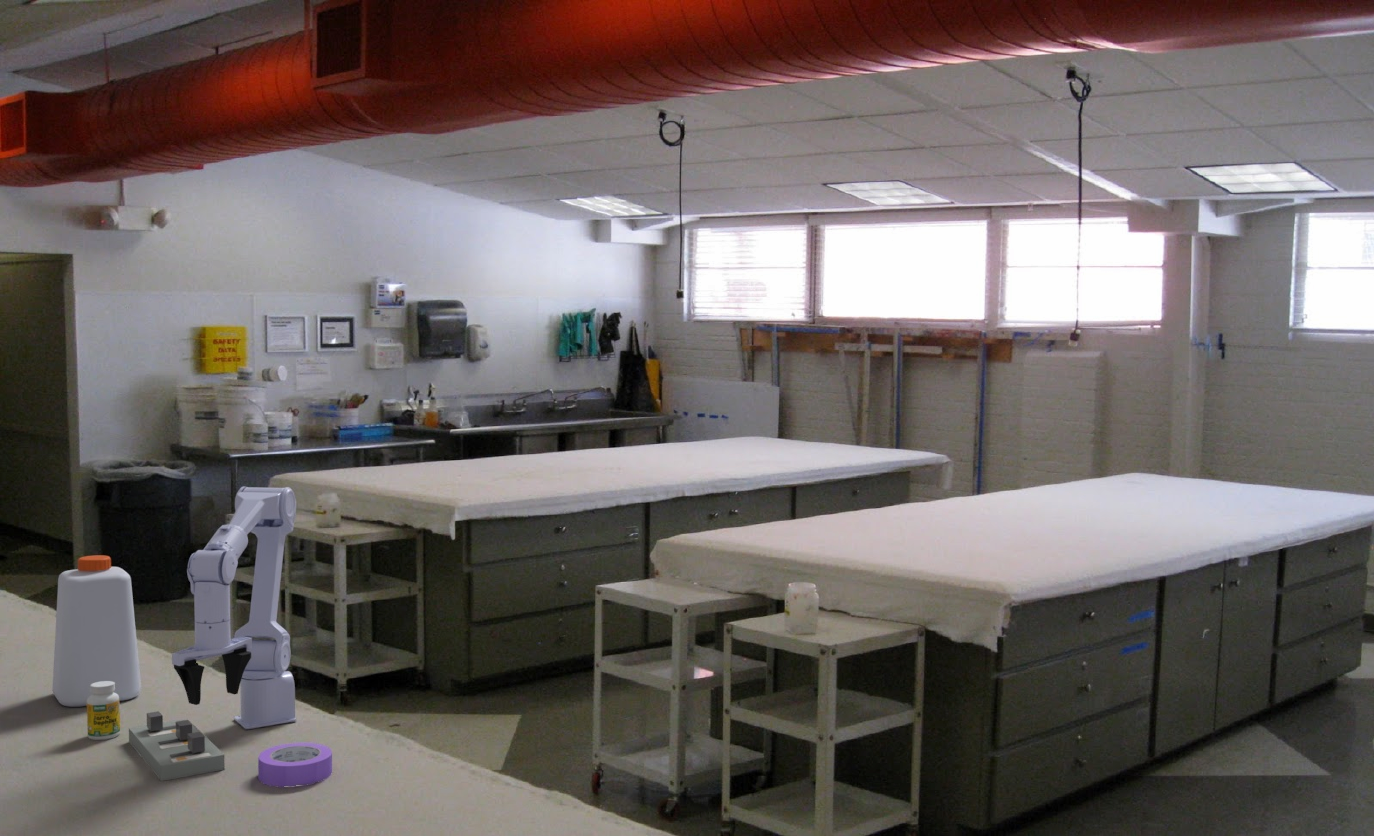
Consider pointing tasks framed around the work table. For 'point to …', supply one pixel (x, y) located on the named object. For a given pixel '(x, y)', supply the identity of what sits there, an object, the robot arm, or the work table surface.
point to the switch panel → (174, 752)
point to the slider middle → (183, 729)
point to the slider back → (154, 721)
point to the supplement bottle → (103, 711)
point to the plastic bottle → (95, 632)
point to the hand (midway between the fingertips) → (213, 698)
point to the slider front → (196, 742)
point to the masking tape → (294, 764)
